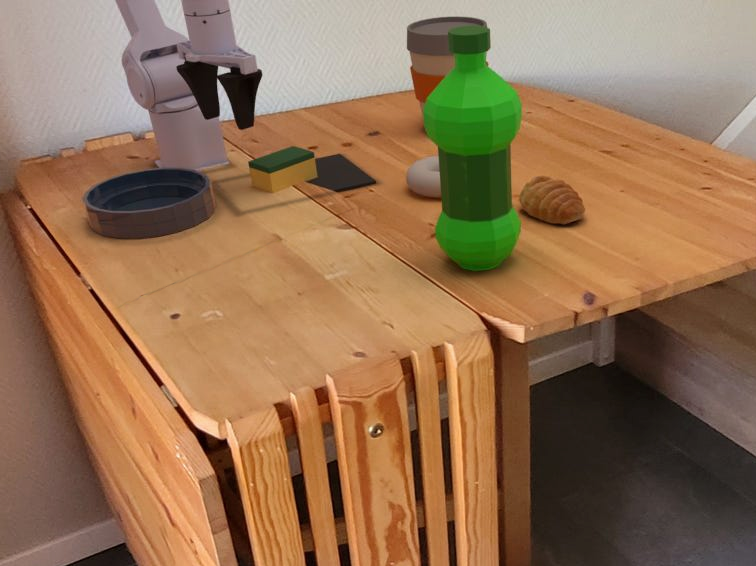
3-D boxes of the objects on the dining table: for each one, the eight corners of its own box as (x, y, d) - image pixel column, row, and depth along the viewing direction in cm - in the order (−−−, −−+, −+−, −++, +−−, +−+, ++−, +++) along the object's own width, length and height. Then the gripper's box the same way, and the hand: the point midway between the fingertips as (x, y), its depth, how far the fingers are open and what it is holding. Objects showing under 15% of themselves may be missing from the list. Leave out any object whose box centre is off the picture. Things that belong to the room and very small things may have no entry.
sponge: (297, 170, 140) (293, 145, 138) (317, 177, 137) (313, 151, 135) (252, 187, 135) (247, 161, 133) (273, 194, 133) (268, 168, 131)
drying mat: (340, 156, 145) (339, 153, 145) (376, 183, 135) (376, 180, 135) (210, 183, 138) (209, 180, 138) (238, 214, 129) (237, 211, 128)
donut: (395, 185, 135) (425, 206, 128) (393, 160, 133) (423, 180, 125) (459, 171, 138) (492, 191, 131) (457, 147, 136) (491, 165, 129)
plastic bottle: (463, 238, 119) (450, 16, 104) (539, 253, 115) (537, 23, 99) (418, 269, 112) (398, 37, 97) (497, 286, 108) (489, 46, 92)
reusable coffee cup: (445, 112, 161) (439, 13, 151) (507, 122, 155) (505, 20, 145) (397, 133, 153) (387, 30, 144) (460, 145, 147) (455, 39, 138)
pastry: (598, 219, 122) (599, 189, 119) (554, 232, 119) (554, 202, 117) (555, 197, 128) (555, 168, 126) (513, 209, 126) (512, 180, 123)
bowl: (198, 187, 137) (192, 159, 135) (231, 225, 126) (224, 195, 123) (82, 212, 132) (73, 183, 129) (104, 253, 120) (95, 222, 118)
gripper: (147, 11, 123) (173, 120, 131) (214, 24, 115) (237, 140, 123) (194, 0, 127) (215, 108, 135) (262, 13, 119) (280, 126, 127)
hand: (229, 122), depth 129 cm, fingers open, 7 cm apart
